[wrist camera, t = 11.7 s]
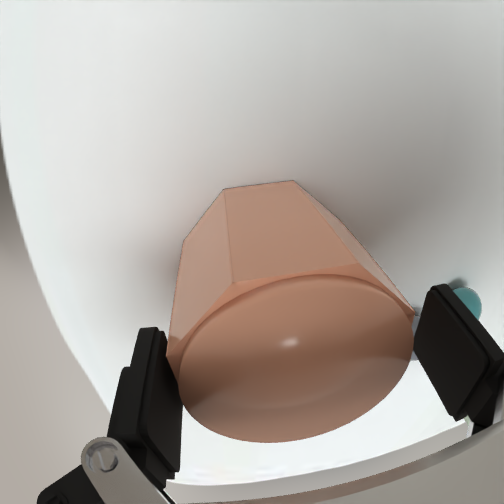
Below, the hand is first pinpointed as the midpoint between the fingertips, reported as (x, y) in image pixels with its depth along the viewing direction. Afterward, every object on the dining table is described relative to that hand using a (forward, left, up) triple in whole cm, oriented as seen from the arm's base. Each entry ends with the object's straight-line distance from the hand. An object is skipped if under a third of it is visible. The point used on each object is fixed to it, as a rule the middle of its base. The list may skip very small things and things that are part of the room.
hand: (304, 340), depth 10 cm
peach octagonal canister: (0, 0, -6) cm, 6 cm away
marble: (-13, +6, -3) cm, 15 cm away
